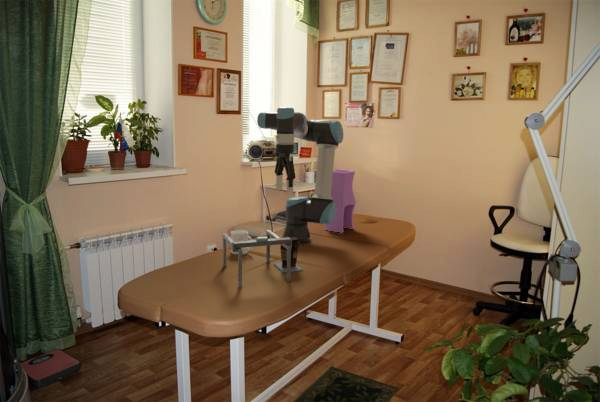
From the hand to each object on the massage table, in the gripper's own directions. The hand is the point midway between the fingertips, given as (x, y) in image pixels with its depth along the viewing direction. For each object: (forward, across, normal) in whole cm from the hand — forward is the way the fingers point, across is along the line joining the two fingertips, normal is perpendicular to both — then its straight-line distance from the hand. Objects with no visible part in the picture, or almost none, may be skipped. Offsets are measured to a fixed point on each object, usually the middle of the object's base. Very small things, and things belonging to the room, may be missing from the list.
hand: (284, 192), depth 212 cm
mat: (+33, +6, 0) cm, 33 cm away
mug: (+33, -22, -13) cm, 42 cm away
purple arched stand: (+33, -52, +53) cm, 81 cm away
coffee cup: (+32, +7, 0) cm, 33 cm away
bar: (+19, +19, -16) cm, 32 cm away
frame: (+33, +9, -16) cm, 38 cm away
